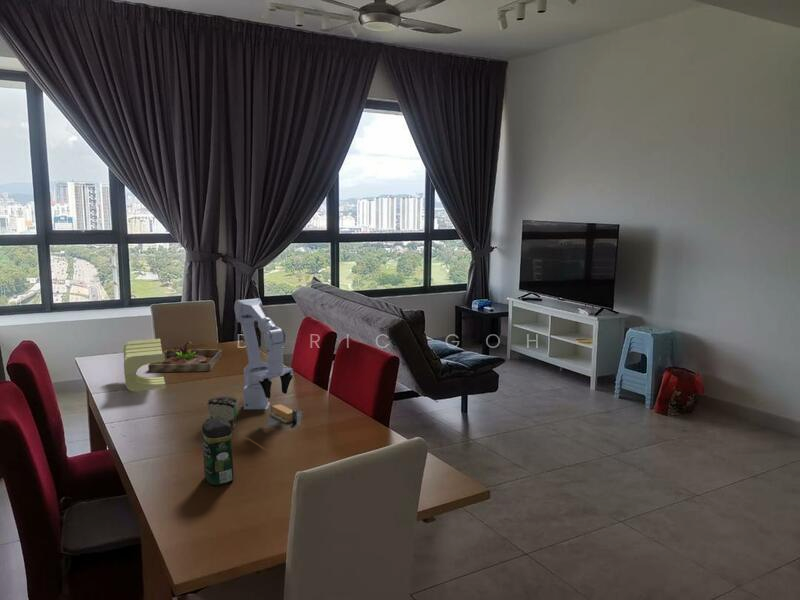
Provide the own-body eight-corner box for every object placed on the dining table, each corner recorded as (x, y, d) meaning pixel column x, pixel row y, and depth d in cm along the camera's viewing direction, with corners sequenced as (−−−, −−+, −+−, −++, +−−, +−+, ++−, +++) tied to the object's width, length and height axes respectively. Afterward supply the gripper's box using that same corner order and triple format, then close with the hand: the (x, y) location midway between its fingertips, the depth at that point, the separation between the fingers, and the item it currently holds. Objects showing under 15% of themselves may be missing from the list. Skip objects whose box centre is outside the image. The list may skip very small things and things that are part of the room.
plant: (214, 364, 312) (213, 342, 310) (177, 371, 298) (176, 349, 296) (195, 356, 325) (194, 336, 324) (159, 363, 312) (157, 342, 310)
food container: (246, 424, 230) (245, 398, 228) (236, 429, 224) (235, 403, 222) (218, 420, 234) (216, 394, 232) (208, 425, 228) (206, 399, 226)
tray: (266, 427, 227) (266, 413, 226) (271, 413, 241) (271, 400, 240) (299, 426, 228) (299, 413, 227) (302, 412, 242) (302, 399, 242)
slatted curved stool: (125, 379, 284) (123, 341, 281) (162, 375, 291) (160, 338, 288) (126, 398, 257) (123, 357, 254) (166, 393, 264) (164, 353, 261)
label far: (278, 418, 234) (278, 417, 234) (271, 415, 237) (271, 414, 237) (289, 415, 237) (289, 414, 237) (283, 412, 241) (283, 411, 241)
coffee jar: (201, 476, 187) (198, 417, 184) (227, 470, 191) (225, 413, 188) (210, 488, 179) (207, 428, 176) (236, 482, 183) (234, 423, 180)
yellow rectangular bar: (295, 418, 232) (295, 411, 232) (287, 420, 230) (287, 413, 230) (279, 409, 241) (279, 403, 241) (271, 411, 239) (271, 405, 238)
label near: (285, 422, 230) (285, 421, 230) (278, 418, 234) (278, 417, 234) (296, 419, 233) (296, 418, 233) (289, 415, 237) (289, 414, 237)
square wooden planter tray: (148, 372, 296) (148, 364, 295) (166, 356, 324) (165, 350, 324) (210, 371, 298) (210, 364, 298) (222, 355, 327) (221, 349, 326)
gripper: (265, 366, 223) (266, 402, 225) (297, 359, 234) (298, 393, 236) (254, 362, 228) (255, 397, 230) (286, 355, 238) (286, 389, 241)
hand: (276, 395), depth 233 cm, fingers open, 7 cm apart
